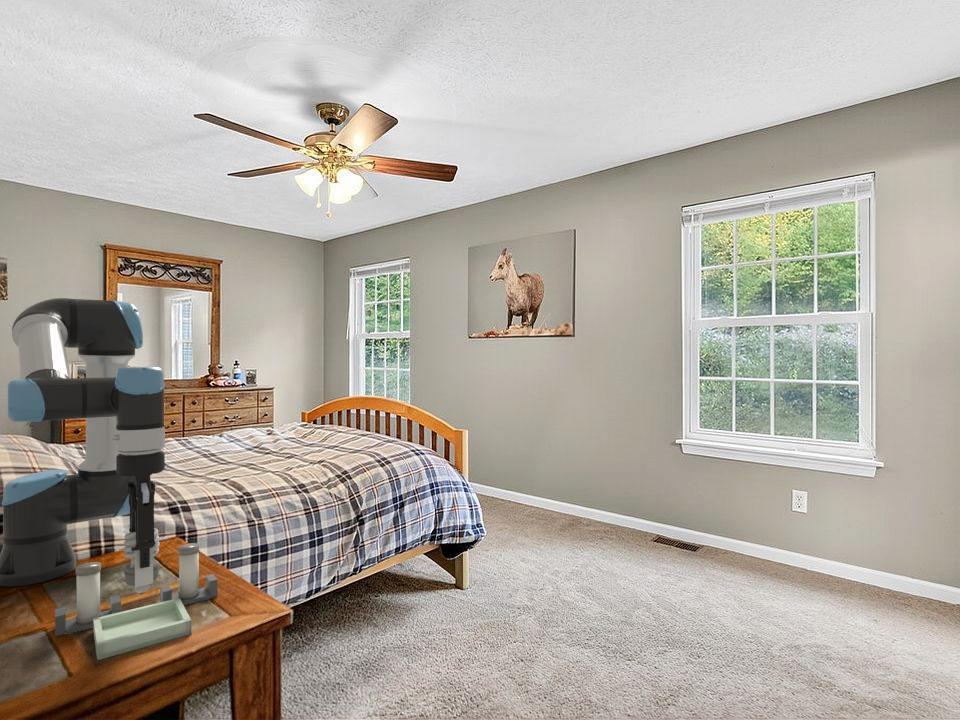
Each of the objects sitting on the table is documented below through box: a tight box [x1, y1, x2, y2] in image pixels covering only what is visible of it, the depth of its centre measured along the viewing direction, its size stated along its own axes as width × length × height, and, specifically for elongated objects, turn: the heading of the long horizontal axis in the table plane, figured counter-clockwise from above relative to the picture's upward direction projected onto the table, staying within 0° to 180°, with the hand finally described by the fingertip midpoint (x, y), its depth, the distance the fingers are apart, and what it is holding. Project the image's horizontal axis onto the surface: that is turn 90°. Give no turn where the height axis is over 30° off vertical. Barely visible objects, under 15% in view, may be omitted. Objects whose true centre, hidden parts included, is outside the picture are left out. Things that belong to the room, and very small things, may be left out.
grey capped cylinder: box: [177, 542, 200, 600], centre depth 114 cm, size 4×4×10 cm
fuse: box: [75, 561, 102, 625], centre depth 103 cm, size 4×4×10 cm
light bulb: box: [122, 527, 161, 595], centre depth 100 cm, size 6×6×12 cm
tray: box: [92, 598, 192, 661], centre depth 100 cm, size 12×14×2 cm
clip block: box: [54, 573, 218, 637], centre depth 109 cm, size 5×27×4 cm, turn 128°
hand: (141, 578), depth 100 cm, fingers closed on light bulb, 6 cm apart
